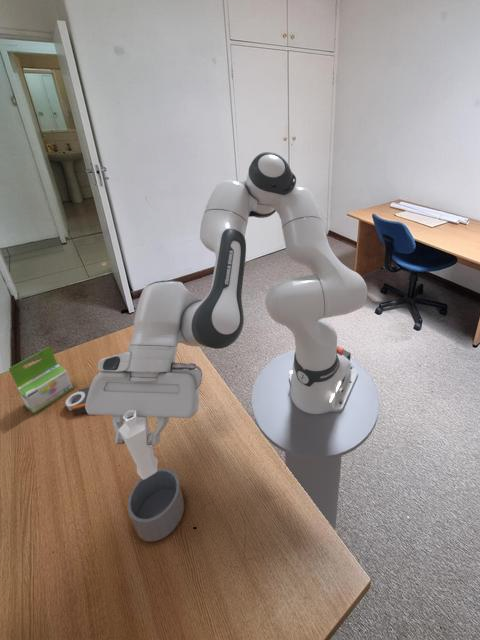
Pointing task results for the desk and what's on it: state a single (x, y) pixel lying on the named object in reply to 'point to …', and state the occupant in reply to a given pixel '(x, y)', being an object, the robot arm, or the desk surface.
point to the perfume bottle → (139, 443)
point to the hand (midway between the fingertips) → (136, 444)
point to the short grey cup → (156, 505)
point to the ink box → (41, 380)
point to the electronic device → (77, 401)
